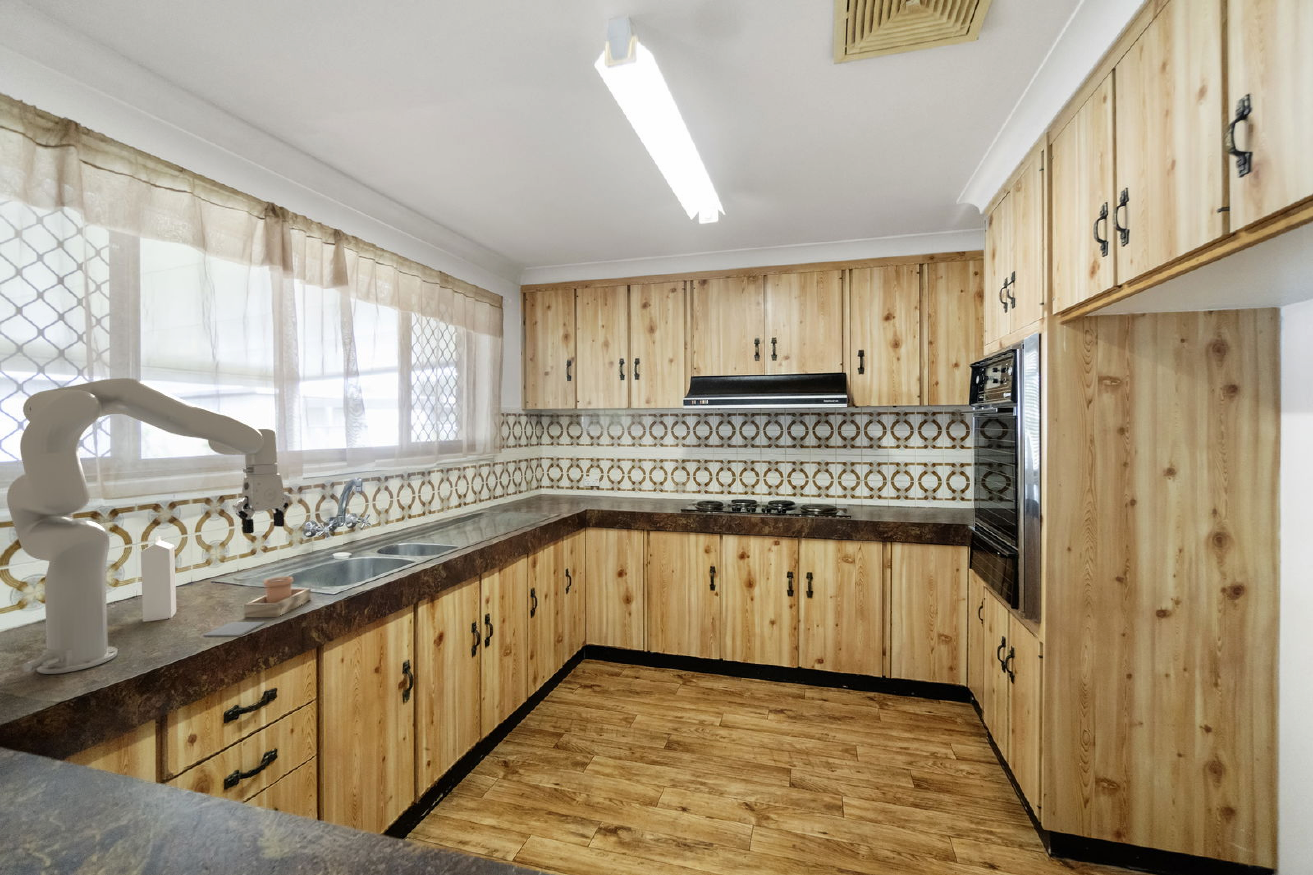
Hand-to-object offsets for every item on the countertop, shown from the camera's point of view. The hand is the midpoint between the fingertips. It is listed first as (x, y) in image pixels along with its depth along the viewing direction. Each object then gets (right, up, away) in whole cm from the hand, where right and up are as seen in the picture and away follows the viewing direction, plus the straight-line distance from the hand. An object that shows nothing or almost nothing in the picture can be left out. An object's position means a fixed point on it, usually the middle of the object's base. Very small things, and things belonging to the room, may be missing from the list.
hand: (264, 529), depth 167 cm
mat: (+6, -23, -19) cm, 30 cm away
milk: (-22, -23, -9) cm, 33 cm away
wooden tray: (+6, -22, -2) cm, 23 cm away
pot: (+6, -22, -2) cm, 23 cm away
